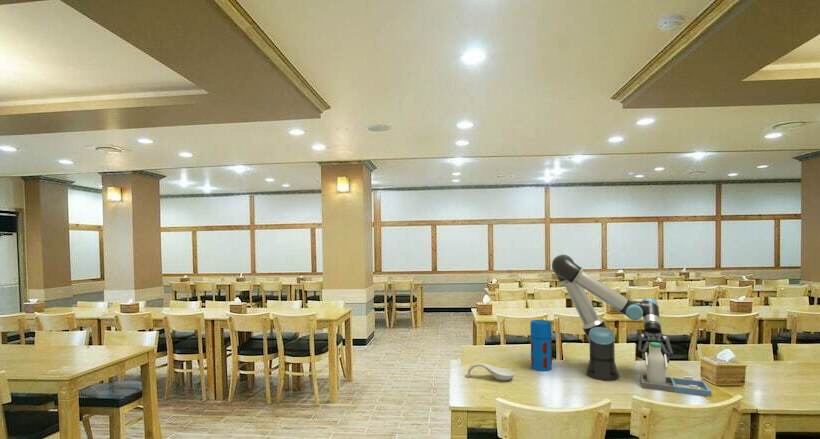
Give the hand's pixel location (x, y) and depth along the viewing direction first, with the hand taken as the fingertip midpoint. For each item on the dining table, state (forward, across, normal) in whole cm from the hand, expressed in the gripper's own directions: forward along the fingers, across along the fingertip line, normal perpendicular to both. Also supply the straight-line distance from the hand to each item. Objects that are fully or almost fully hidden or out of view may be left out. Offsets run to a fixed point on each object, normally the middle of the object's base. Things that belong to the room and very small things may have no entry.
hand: (656, 367), depth 198 cm
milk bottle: (+4, 0, -9) cm, 10 cm away
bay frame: (+4, -7, -9) cm, 12 cm away
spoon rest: (+20, +75, +6) cm, 78 cm away
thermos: (+2, +54, -12) cm, 55 cm away
